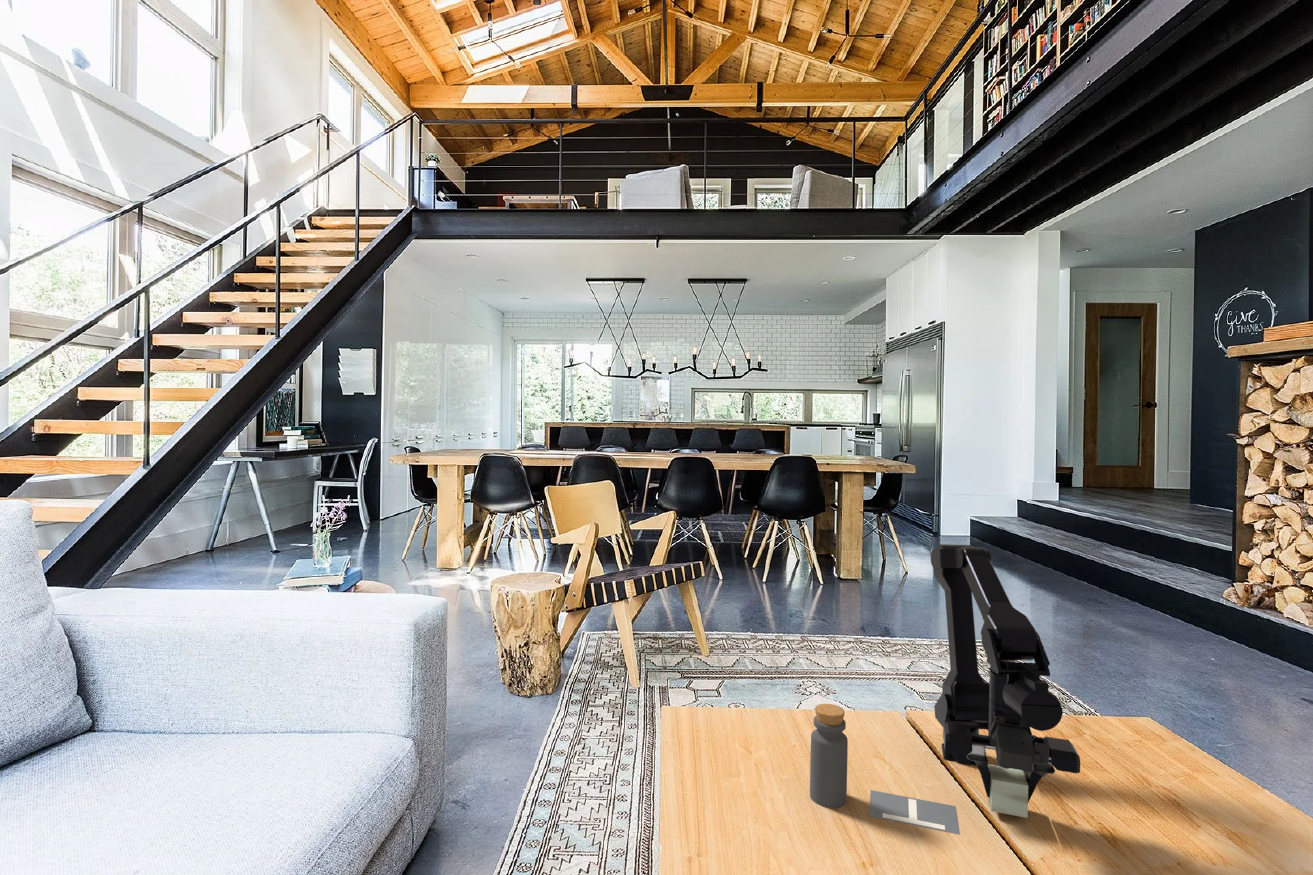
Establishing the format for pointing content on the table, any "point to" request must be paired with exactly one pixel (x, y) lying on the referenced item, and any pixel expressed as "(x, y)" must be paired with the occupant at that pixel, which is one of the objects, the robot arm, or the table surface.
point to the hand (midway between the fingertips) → (1006, 799)
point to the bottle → (829, 757)
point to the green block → (1008, 791)
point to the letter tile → (914, 811)
